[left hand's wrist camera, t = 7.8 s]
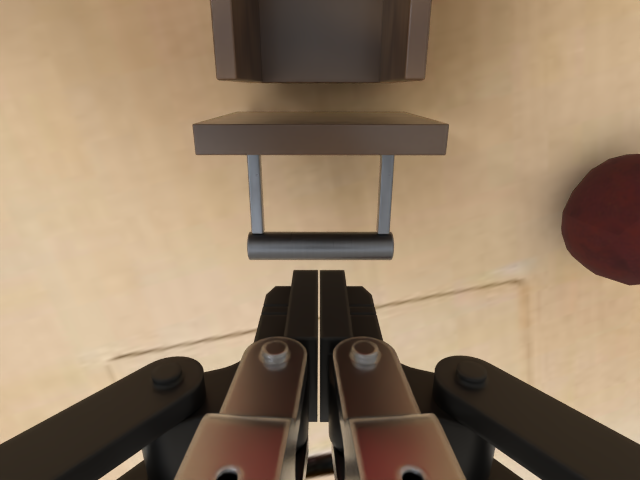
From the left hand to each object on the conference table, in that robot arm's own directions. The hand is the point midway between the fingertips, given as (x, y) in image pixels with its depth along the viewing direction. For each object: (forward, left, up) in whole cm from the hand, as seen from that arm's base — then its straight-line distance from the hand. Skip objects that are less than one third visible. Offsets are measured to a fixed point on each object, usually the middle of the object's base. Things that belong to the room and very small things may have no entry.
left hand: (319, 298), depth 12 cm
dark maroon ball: (+11, +15, -16) cm, 24 cm away
